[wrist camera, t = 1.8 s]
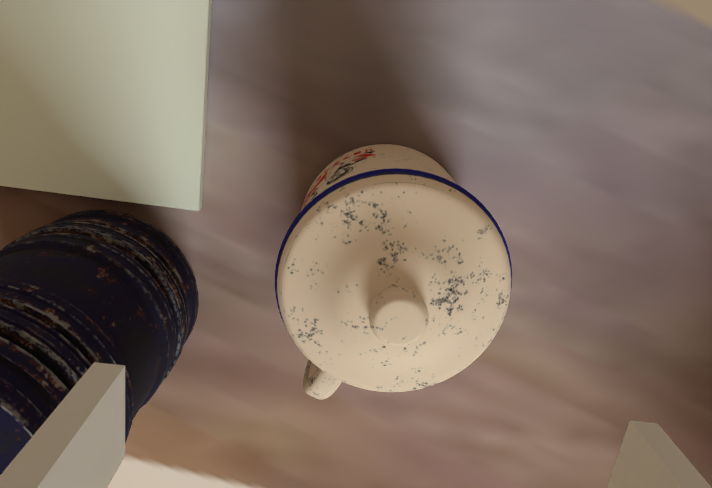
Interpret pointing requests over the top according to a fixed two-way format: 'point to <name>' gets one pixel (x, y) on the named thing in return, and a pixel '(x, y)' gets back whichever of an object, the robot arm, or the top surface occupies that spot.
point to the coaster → (105, 98)
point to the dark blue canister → (87, 315)
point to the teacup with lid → (390, 274)
